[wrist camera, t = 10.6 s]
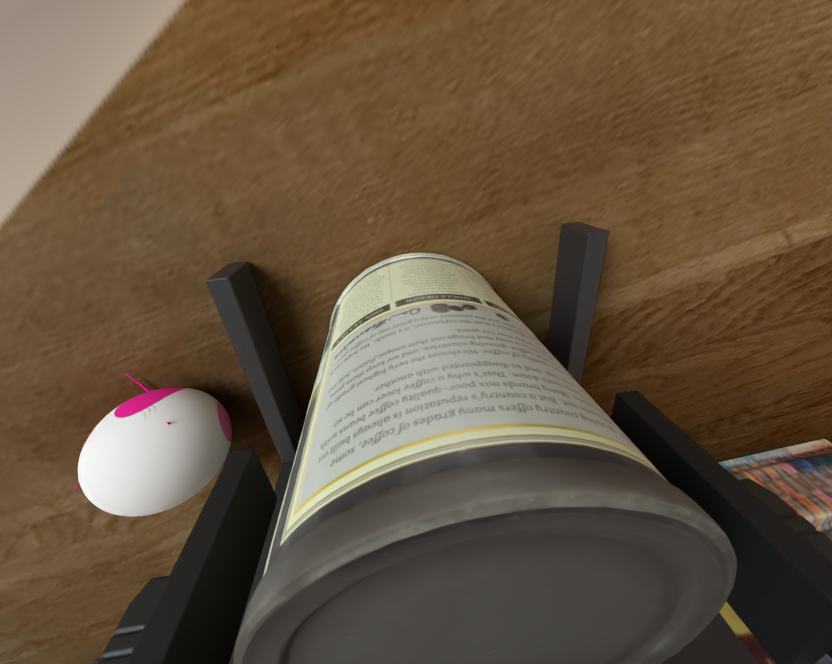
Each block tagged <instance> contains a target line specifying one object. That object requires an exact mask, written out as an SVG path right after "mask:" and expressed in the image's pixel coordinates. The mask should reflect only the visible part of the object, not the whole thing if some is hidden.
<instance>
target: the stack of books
mask: <svg viewBox="0 0 832 664" xmlns="http://www.w3.org/2000/svg"><path fill="white" fill-rule="evenodd" d="M718 463H719V464H721V465H722V466H723V467H724V468H725V469H726V470H727V471H728V472H730V473H731V474H732V475H733V476H734V477H735V478H736V479H738V480H740V479H746V478H749V479H751V480H753V481H755V482H756V483H758V484H760V485H762V486H763V487H765V488H767V489H769V490H770V491H772V492H774V493H775V494H776V495H778V496H779V497H780V498H781V499H782V500H784V501H785V502H786V503H787V504H788V505H790V506H791V507H792V508H793V509H794V510H796V511H797V514H798V515H800V516H801V515H802V516H803V517H804V518H805V519H806V520H808V521H809V522H810V523H811V524H812V525H814V526H815V527H816V530H817V531H819V532H822V533H823V534H825V535H826V536H827V537H828V538H829V539H831V540H832V443H831V442H829V441H827V440H826V439H821V440H816V441H811V442H807V443H802V444H798V445H793V446H789V447H784V448H779V449H775V450H771V451H766V452H762V453H758V454H753V455H748V456H744V457H740V458H735V459H731V460H726V461H722V462H718ZM719 613H720V614H721V615H722V617H723V618H724V619H725V621H726V622H727V623H728V625H729V626H730V627H731V629H732V630H733V631H734V633H735V634H736V635H737V637H738V638H739V639H740V641H741V642H742V643H743V644H744V646H745V647H746V648H747V650H748V651H749V652H750V654H751V655H752V656H753V658H754V659H755V660H756V662H757V663H758V664H776V663H775V662H774V661H773V659H772V658H771V657H770V656H769V654H768V653H767V652H766V650H765V649H764V648H763V647H762V645H761V644H760V643H759V642H758V640H757V639H756V638H755V637H754V635H753V634H752V633H751V632H750V630H749V629H748V628H747V627H746V625H745V624H744V623H743V622H742V620H741V619H740V618H739V617H738V615H737V614H736V613H735V612H734V610H733V609H732V608H731V607H730V605H729V604H728V603H727V602H726V603H725V604H724V606H723V607H722V609H721V610H720V612H719ZM815 664H832V659H831V658H830V657H829V656H828V654H826V655H825V656H823V657H822V658H821V659H820V660H818V661H817V662H816V663H815Z"/></svg>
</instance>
